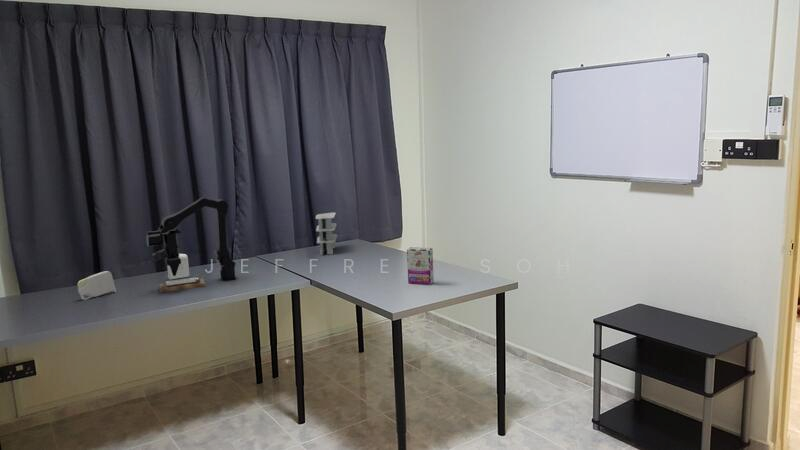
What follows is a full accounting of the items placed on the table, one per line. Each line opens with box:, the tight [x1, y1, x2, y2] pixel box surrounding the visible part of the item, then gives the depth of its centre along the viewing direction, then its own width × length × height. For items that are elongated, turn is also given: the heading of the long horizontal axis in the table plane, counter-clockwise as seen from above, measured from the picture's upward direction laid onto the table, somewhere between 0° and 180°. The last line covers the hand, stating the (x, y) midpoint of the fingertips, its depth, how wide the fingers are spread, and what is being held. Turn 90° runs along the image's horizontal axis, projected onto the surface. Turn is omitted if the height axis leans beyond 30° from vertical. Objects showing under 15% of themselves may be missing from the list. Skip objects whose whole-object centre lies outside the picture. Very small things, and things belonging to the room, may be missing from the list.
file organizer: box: [315, 211, 338, 256], centre depth 346 cm, size 26×35×22 cm
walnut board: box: [159, 276, 206, 293], centre depth 279 cm, size 20×10×3 cm, turn 115°
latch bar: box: [165, 276, 200, 286], centre depth 279 cm, size 15×4×1 cm, turn 115°
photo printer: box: [166, 253, 190, 281], centre depth 296 cm, size 10×4×12 cm, turn 123°
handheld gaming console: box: [77, 270, 117, 301], centre depth 267 cm, size 11×3×15 cm
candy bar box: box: [406, 247, 435, 286], centre depth 269 cm, size 11×5×16 cm, turn 68°
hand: (174, 275), depth 277 cm, fingers closed
